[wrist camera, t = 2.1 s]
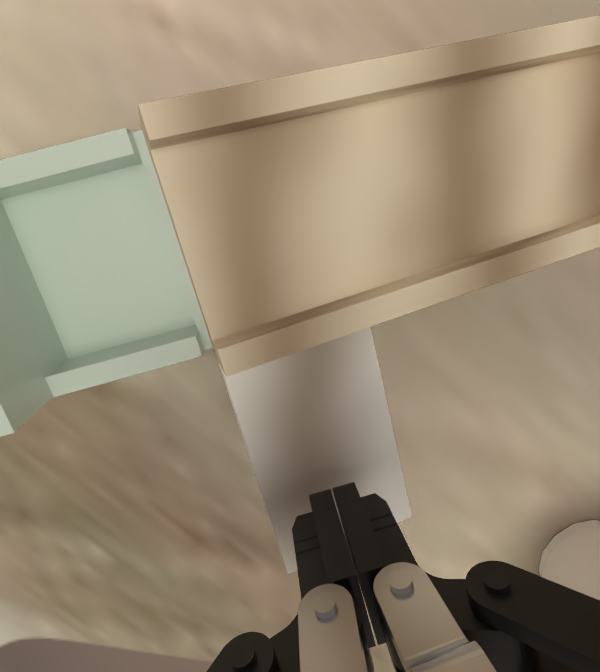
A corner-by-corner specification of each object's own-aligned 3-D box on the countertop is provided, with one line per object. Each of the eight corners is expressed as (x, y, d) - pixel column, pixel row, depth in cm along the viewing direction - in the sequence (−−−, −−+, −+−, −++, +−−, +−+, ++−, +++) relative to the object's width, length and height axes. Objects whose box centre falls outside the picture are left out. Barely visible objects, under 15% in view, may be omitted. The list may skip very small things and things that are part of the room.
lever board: (612, 43, 19) (767, -25, 14) (629, 363, 23) (754, 396, 18) (143, 143, 15) (136, 94, 10) (267, 521, 19) (306, 619, 14)
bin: (166, 136, 21) (126, 99, 15) (227, 331, 24) (217, 376, 17) (-20, 184, 21) (-148, 169, 14) (63, 376, 24) (-12, 440, 17)
